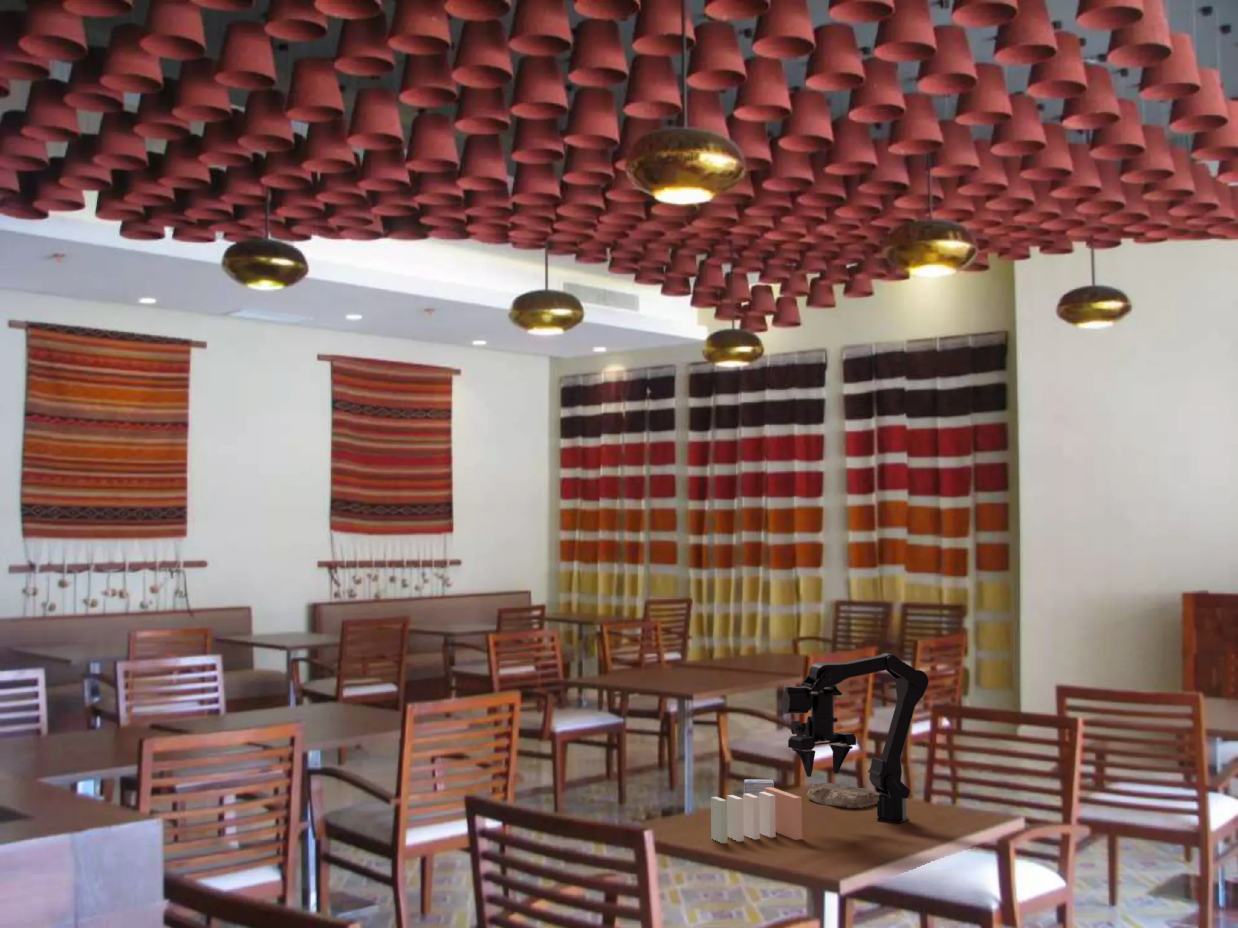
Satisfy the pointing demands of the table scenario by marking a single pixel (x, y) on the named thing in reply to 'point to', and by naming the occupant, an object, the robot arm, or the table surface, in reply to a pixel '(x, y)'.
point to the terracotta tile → (787, 813)
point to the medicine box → (756, 786)
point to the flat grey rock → (842, 795)
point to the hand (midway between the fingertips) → (822, 774)
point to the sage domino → (719, 819)
